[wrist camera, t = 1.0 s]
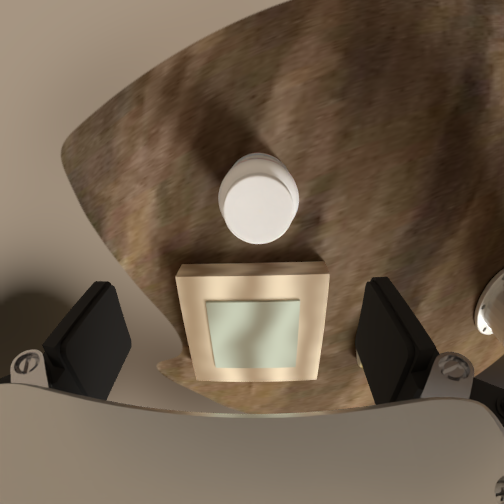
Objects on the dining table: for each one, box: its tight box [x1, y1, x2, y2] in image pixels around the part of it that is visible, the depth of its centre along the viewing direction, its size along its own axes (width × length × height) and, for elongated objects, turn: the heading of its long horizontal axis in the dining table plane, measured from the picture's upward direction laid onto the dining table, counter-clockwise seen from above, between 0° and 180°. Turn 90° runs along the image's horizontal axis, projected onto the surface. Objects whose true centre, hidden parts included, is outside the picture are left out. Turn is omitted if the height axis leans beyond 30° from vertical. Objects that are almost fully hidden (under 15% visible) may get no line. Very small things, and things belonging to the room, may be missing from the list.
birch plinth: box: [175, 261, 330, 382], centre depth 35 cm, size 16×16×3 cm
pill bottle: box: [218, 153, 299, 244], centre depth 24 cm, size 6×6×11 cm
